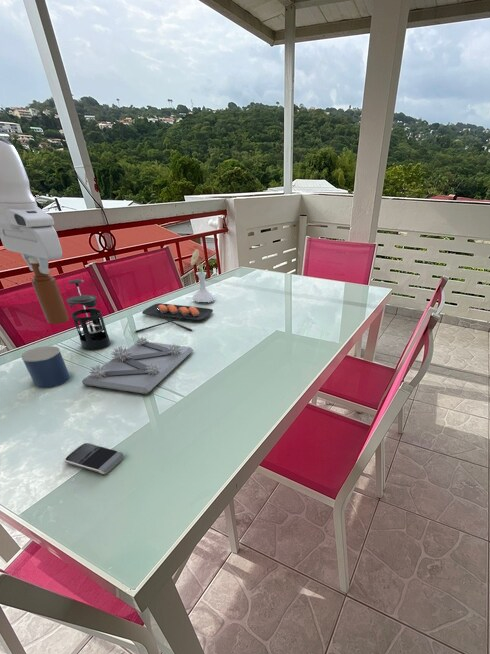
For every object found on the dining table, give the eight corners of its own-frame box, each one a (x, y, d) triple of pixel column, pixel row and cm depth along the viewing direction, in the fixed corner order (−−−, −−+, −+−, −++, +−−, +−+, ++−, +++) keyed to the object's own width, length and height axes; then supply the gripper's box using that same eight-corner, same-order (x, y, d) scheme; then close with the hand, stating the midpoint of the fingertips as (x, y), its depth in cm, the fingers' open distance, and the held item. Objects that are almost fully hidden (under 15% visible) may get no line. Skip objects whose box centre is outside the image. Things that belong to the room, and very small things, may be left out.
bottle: (42, 321, 97) (17, 257, 88) (61, 315, 102) (39, 254, 92) (54, 325, 96) (30, 260, 86) (73, 319, 100) (52, 257, 90)
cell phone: (86, 446, 77) (84, 441, 76) (126, 457, 74) (124, 452, 74) (63, 464, 72) (61, 459, 71) (105, 476, 70) (103, 472, 69)
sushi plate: (215, 313, 153) (214, 304, 151) (186, 338, 128) (184, 329, 126) (157, 306, 156) (155, 298, 154) (117, 330, 132) (115, 321, 129)
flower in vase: (194, 297, 170) (187, 245, 156) (217, 298, 171) (212, 245, 157) (190, 306, 159) (182, 250, 145) (214, 306, 160) (209, 251, 146)
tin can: (27, 382, 98) (13, 355, 93) (58, 369, 105) (47, 343, 100) (46, 391, 95) (33, 363, 89) (77, 377, 101) (66, 350, 96)
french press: (105, 351, 117) (84, 284, 104) (76, 351, 115) (52, 284, 102) (115, 337, 126) (98, 275, 113) (89, 337, 125) (68, 275, 112)
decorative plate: (148, 397, 94) (142, 375, 90) (81, 387, 97) (72, 366, 93) (194, 352, 119) (192, 333, 115) (140, 345, 122) (135, 327, 118)
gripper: (-19, 211, 84) (5, 268, 92) (30, 220, 77) (52, 280, 85) (9, 210, 89) (29, 264, 97) (57, 218, 82) (75, 275, 90)
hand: (40, 272), depth 91 cm, fingers closed on bottle, 3 cm apart
